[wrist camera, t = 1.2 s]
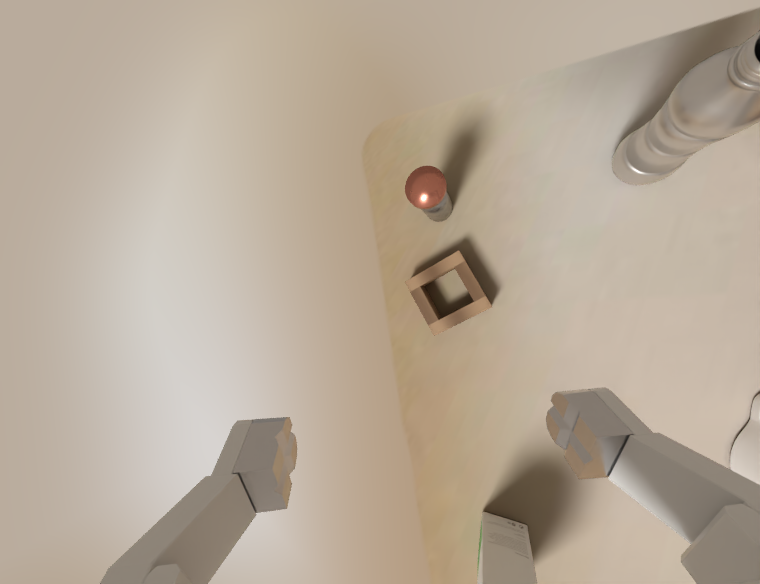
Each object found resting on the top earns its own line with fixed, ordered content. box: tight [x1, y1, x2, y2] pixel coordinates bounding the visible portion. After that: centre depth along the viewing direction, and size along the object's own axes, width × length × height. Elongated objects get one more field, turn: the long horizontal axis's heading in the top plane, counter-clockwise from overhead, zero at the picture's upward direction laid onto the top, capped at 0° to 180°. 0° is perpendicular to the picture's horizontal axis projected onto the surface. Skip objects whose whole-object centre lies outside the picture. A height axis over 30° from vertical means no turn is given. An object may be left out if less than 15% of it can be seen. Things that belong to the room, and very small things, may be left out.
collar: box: [405, 251, 492, 336], centre depth 44 cm, size 9×9×3 cm
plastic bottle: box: [612, 30, 760, 185], centre depth 28 cm, size 6×7×20 cm
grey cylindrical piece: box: [405, 166, 453, 222], centre depth 40 cm, size 5×5×11 cm
